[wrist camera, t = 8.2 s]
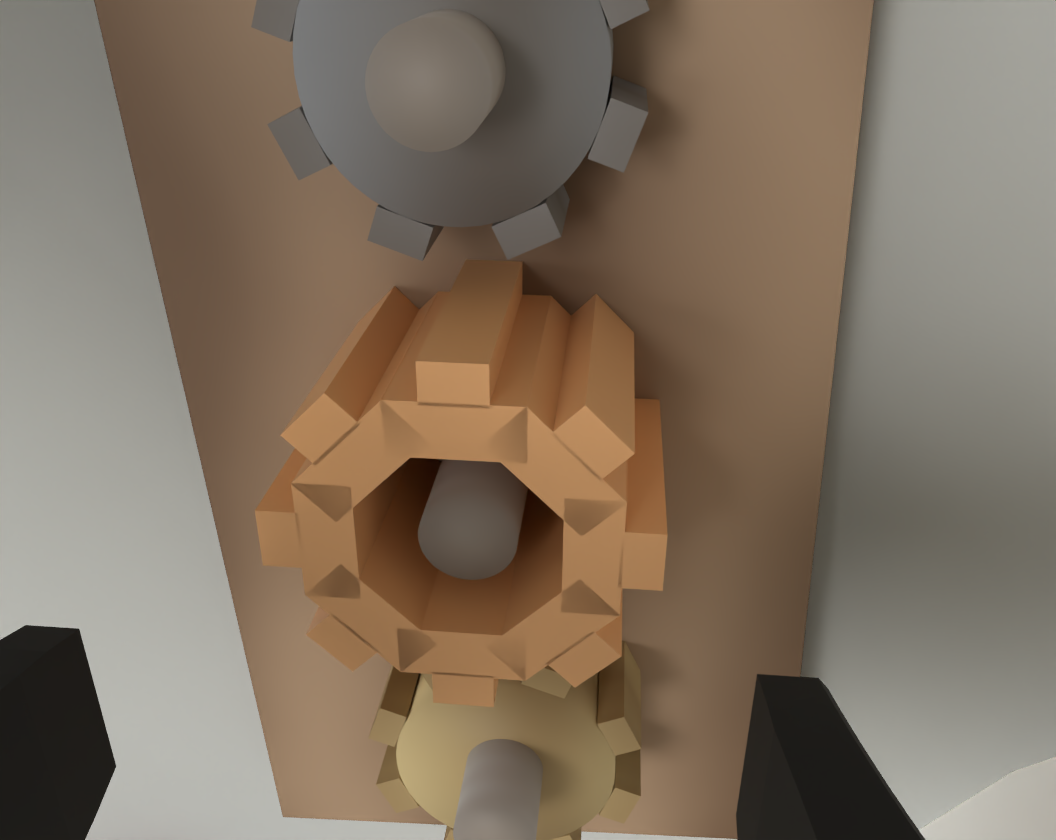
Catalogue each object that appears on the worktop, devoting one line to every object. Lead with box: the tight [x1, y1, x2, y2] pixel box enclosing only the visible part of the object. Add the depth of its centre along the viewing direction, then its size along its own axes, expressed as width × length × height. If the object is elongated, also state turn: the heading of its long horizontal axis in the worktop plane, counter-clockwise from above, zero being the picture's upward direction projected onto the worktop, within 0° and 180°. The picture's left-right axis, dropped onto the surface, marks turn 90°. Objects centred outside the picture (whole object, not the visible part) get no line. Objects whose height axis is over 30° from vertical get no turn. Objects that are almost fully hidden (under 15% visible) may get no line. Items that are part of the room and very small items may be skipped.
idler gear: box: [255, 259, 668, 707], centre depth 15 cm, size 6×6×4 cm
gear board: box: [94, 0, 874, 840], centre depth 16 cm, size 11×20×5 cm, turn 3°
